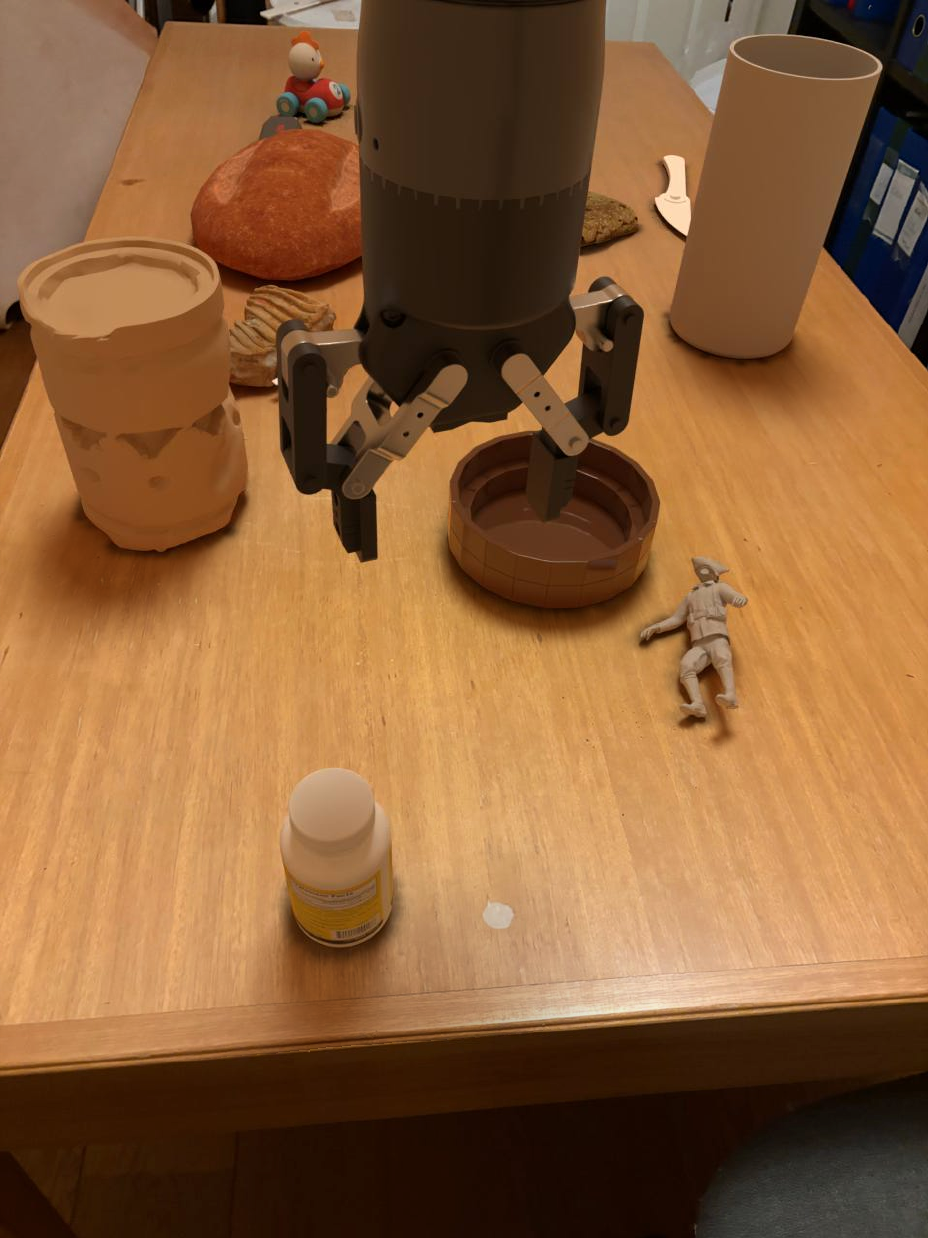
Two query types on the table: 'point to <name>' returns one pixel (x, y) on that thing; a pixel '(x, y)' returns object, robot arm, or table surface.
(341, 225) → the bread
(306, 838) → the supplement bottle
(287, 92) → the toy car
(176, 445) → the container
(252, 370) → the fossil
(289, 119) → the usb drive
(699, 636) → the soldier figure
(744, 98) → the cylinder vase
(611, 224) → the pastry
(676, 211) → the knife
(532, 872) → the table surface
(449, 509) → the bowl
